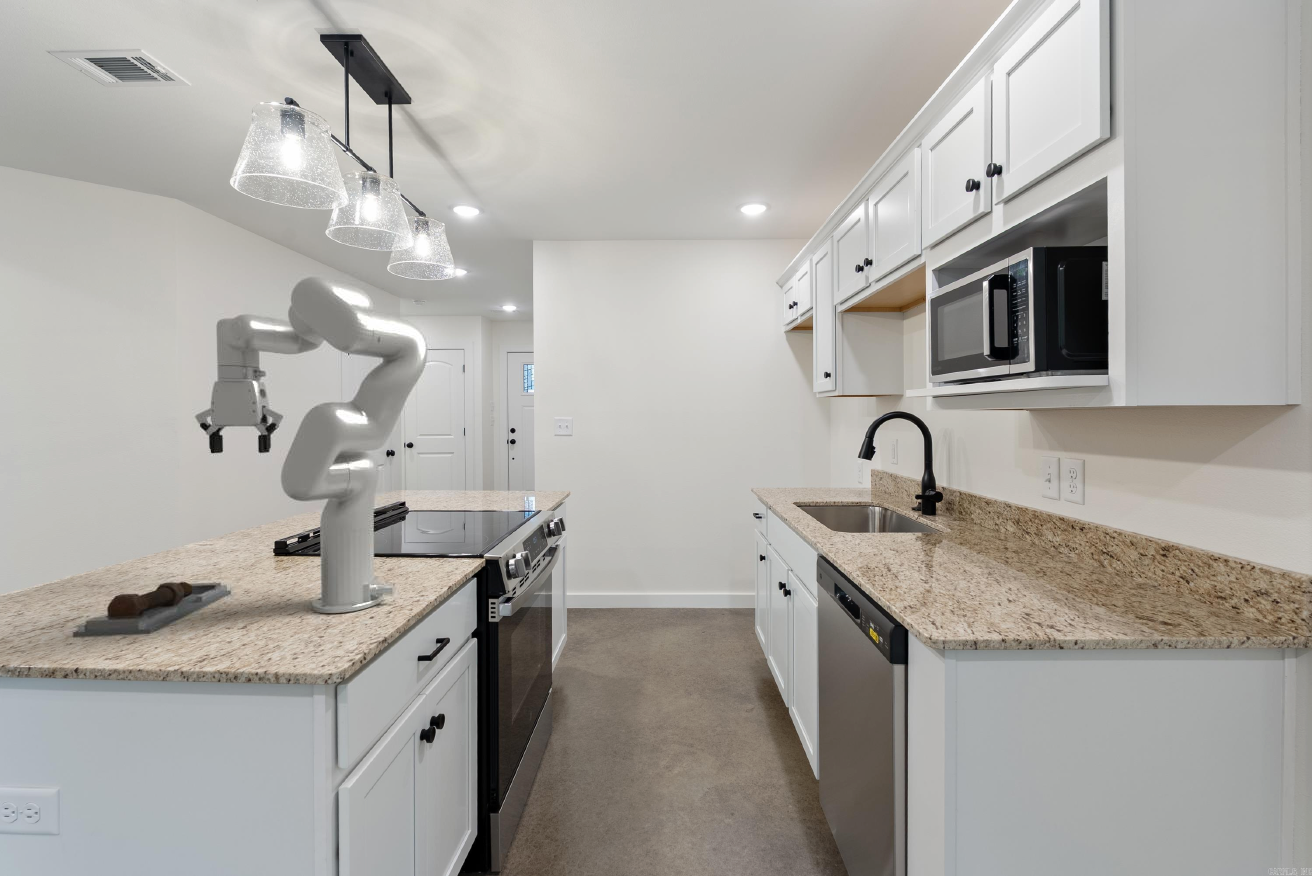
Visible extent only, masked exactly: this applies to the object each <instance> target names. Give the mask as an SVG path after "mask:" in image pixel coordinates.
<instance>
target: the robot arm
mask: <svg viewBox="0 0 1312 876" xmlns="http://www.w3.org/2000/svg"><path fill="white" fill-rule="evenodd" d="M290 303H291V304H290V305H289V308H288V312H287V313H288V314H287V316H288V317H287V318H288V320H284V319H280V318H273V317H267V316H261V315H256V314H249V313H248V314H247V313H246V314H240V315H237V316H235V317H233V318H221V319H219V320H218V321H217V322H216V354H217V355H216V358H217V359H216V363H217V364H216V366H217V380H216V381H214V384H213V386H212V392H211V398H210V399H211V400H210V408H208V409H206V410H204V411H201V412H200V413H197V414H196V415H195V416H194V418H195V419H196V421H197V423H198V424H199V427H200V428H201V429H202V430H203V431H204V432H205V434H206V435H207V436H208V445H209V446H208V447H209V449H210V454H221V453H223V451H224V442H223V441H224V439H223V438H224V436H223V434H221V432H222V431H223V430H224V429H225V428H226V427H254V428H255V429H256V430H257V431H258V432H259V433H260V434H259V435H258V436H257V441H258V443H257V444H258V445H257V446H258V447H257V449H258V453H260V454H264V453H265V454H266V453H270V451H271V450H270V449H271V448H272V443H271V442H272V438H271V435H273V434H274V432H275V431H276V430H277V429H278V428H279V427H280V424H281V423H282V421H283V418H284V415H283V414H282V413H278V412H277V411H275V410H273V409H270V405H269V398H268V393H267V388H266V386H265V382H261V378H264V377H266V375H267V373H266V371H265V370H261V368H260V352H261V353H262V352H263V353H264V352H265V353H273V354H282V355H298V354H303V353H307V352H310V351H313V350H317V349H318V348H320V347H321V345H322V344H323V343H324V341H325V342H326V343H327V344H329V345H330V346H331V347H332V348H334V349H335V350H338V351H339V352H342V353H345V354H349V355H355V356H363V357H370V358H378V359H382V362H380V363H379V364H377V366H375V367H374V368H373V369H372V370H370V372H368V373H367V375H366V376H365V377H364V378H363V380H362V381H361V383H360V386H359V388H358V391H357V392H356V394H355V395H354V397H353V398H352V400H350V401H348V402H338V401H337V402H334V401H333V402H331V401H330V402H322V403H320V404H318V405H316V406H314V407H312V408H311V409H309V410H308V412H306V414H305V415H304V417H303V418H302V421H301V423H300V424H299V427H298V430H297V431H296V434H295V436H294V439H293V441H292V443H291V446H290V448H289V450H288V452H287V455H286V456H285V457H286V458H285V459H284V462H283V465H282V467H281V475H280V482H281V487H282V490H283V492H284V494H286V495H287V496H288V497H289V498H290V499H292V500H294V501H298V502H313V501H321V500H322V501H323V500H327V501H326V503H325V505H324V507H323V508H322V509H323V510H322V513H321V515H320V521H319V522H320V523H319V525H320V530H319V532H320V533H319V534H320V538H319V540H320V581H321V582H320V584H321V587H320V588H321V596H320V597H317V598H316V599H314V600H313V602H312V610H313V611H315V612H317V613H323V614H343V613H350V612H355V611H360V610H365V609H369V608H371V607H374V606H376V605H378V604H380V603H381V601H383V599H384V596H388V595H389V596H391V595H392V596H393V595H395V593H396V585H395V584H394V583H393V582H391V583H390V582H388V583H381V582H380V577H379V576H375V550H374V549H375V548H374V546H375V545H374V544H375V541H374V539H375V538H374V537H375V536H374V535H375V533H374V526H375V525H374V524H375V523H374V522H375V521H374V519H375V518H374V517H375V515H374V513H375V512H374V510H375V507H374V506H375V498H376V490H377V486H378V480H379V466H378V462H377V460H376V459H375V457H374V456H373V455H372V454H370V452H371V451H376V450H379V449H381V448H382V447H384V445H385V444H386V443H387V441H388V440H389V438H390V436H391V434H392V432H393V429H394V428H395V425H396V423H397V421H398V419H399V416H400V415H401V413H402V411H403V408H404V406H405V403H406V402H407V399H408V397H409V396H410V394H411V392H412V391H413V389H414V387H415V386H416V385H417V382H419V380H420V377H421V376H422V374H423V372H424V370H425V367H426V365H427V359H428V345H427V341H426V338H425V335H424V333H423V332H422V331H421V329H420V328H419V327H418V326H417V325H416V324H414V323H412V322H411V321H409V320H408V319H404V318H402V317H399V316H397V315H390V314H387V313H382V312H376V311H375V303H374V302H373V300H372V299H371V297H370V296H369V294H367V292H365V291H364V290H363V289H361V288H359V287H357V286H354V285H350V284H348V283H344V282H339V281H336V280H332V279H328V278H325V277H320V276H309V277H305V278H303V279H301V280H300V281H299V282H297V284H296V285H295V286H294V287H293V289H292V292H291V295H290ZM208 418H210V421H211V423H209V420H208ZM270 419H272V420H271V421H270Z"/></svg>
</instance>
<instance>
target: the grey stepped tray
mask: <svg viewBox="0 0 1312 876" xmlns="http://www.w3.org/2000/svg"><path fill="white" fill-rule="evenodd" d="M231 594H232V590H228V589H227V591H224V592H222V593H220V594H218V595H216V596H214V597H212V598H210V599H208V600H205V601H203V602H197V596H199V595H201V594H191V595H189V596H187V597H185V598H182V600H181V601H180V603H179V604H178V605H175V606H170V607H161V606H159V607H157V608H154V609H151V610H148V611H146V612H144V613H143V614H142V615H147V617H148V618H150V617H152V616H154V615H157V614H159V613H161V612H163V611H165V610H168V609H170V608H177V614H176V615H174V616H172V617H170V618H167V619H165V620H163V621H161V622H159V623H157V624H155V625H153V626H151V627H149V628H146V629H126V630H103V631H85V632H78V629H77V630H75V631H73V632H72V637H73V638H80V637H99V636H102V637H103V636H122V635H125V636H126V635H143V634H144V635H146V634H152V633H155V632H156V631H158V630H160V629H162V628H164V627H166V626H169V625H171V624H173V623H174V622H177V621H178V620H181V619H183V618H185V617H187V616H189V615H191V614H193V613H195V612H197V611H198V610H201V609H203V608H205V607H208V606H209V605H212V604H213V603H216V602H217V601H219V600H221V599H223V598H225V597H229V596H230V595H231Z"/></svg>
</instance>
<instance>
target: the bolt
mask: <svg viewBox="0 0 1312 876" xmlns="http://www.w3.org/2000/svg"><path fill="white" fill-rule="evenodd" d="M190 584H191V583H189V582H186V581H181V582H164V583H160V584H159V585H158V586H157V588H156V589H155V590H153V591H149V592H146V593H143V594H140V595H139V593H127V594H126V593H125V594H124V593H121V594H118V595H115V596H114V597H113V598H112V600H111V601H110V602H109V604H108V606H107V608H106V609H107V610H106V612H107V613H108V616H109V617H117V616H141V615H142V614H143V613H144V612H146V611H148V610H151V609H154V608H157V607H159V606H161V607H170V606H175V605H178V604H179V603H180V601H181V600H182V598H185V597H187V596H189V595H191V594H192V592H193V590H192V589H193V586H192V585H190Z"/></svg>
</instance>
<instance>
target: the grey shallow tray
mask: <svg viewBox="0 0 1312 876" xmlns="http://www.w3.org/2000/svg"><path fill="white" fill-rule="evenodd" d="M221 583H222V582H204V583H203V582H201V583H200V582H199V583H189V584H190V585H192V586H193V589H192V590H193V592H192V594H201V595H199V596H197V602H203V601H205V600H208V599H210V598H212V597H214V596H216V595H218V594H220V593H222V592H224V591H227V590H228V584H221ZM176 614H177V608H170V609H168V610H165V611H163V612H161V613H159V614H157V615H154V616H152V617H150V618H148V617H147V615H141V616H117V617H109V616H108V612H107V613H105V614H103V615H99V616H97V617H96V616H95V617H92V618H90V619H87V620H85V622H83V623H80V624H77V630H78V632H85V631H103V630H126V629H146V628H149V627H151V626H153V625H155V624H157V623H159V622H161V621H163V620H165V619H167V618H170V617H172V616H174V615H176Z"/></svg>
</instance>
